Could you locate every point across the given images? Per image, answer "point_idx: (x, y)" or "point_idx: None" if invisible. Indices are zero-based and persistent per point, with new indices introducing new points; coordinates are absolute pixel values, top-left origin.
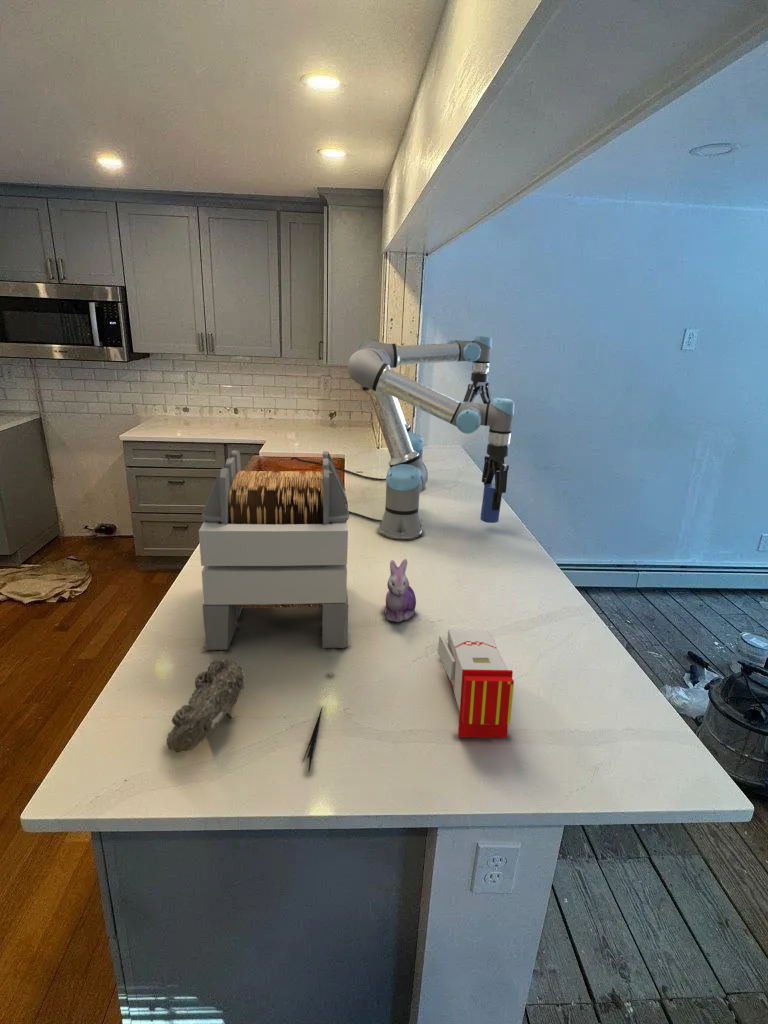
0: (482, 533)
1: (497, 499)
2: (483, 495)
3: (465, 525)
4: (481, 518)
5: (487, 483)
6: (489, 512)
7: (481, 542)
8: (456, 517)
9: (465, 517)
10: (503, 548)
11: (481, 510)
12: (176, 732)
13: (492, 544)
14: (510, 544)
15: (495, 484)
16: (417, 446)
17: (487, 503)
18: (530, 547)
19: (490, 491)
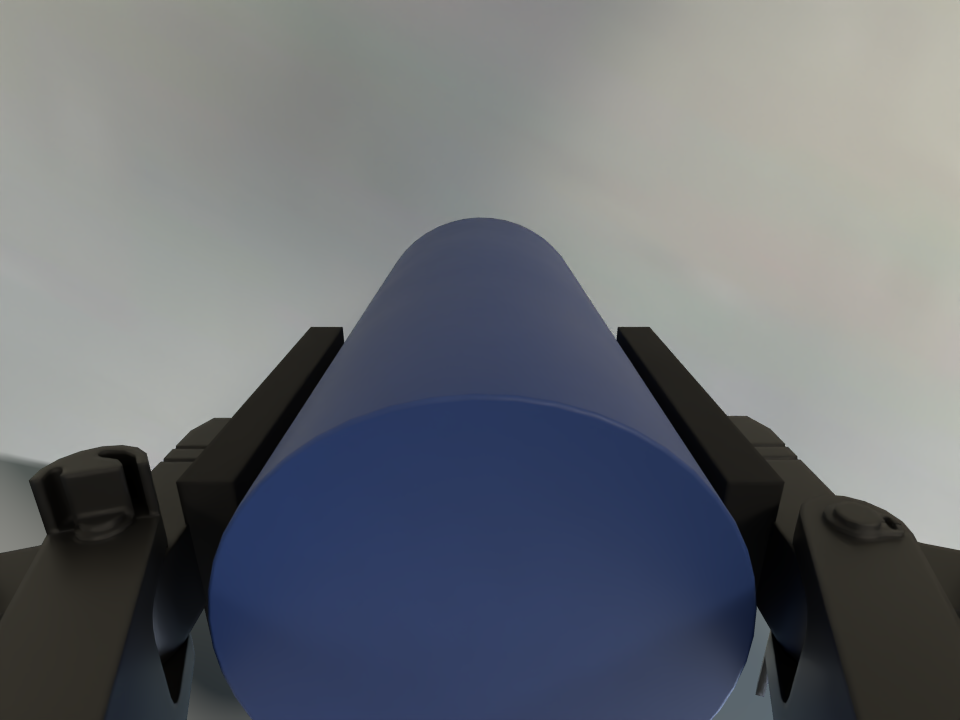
0: (399, 187)
1: (178, 448)
2: (525, 302)
3: (639, 107)
4: (482, 220)
5: (741, 584)
6: (375, 295)
7: (170, 60)
8: (881, 113)
9: (840, 214)
10: (27, 213)
11: (521, 242)
12: None
13: (120, 153)
14: (123, 320)
15: (85, 691)
16: None
17: (386, 299)
18: (65, 443)
19: (294, 425)
